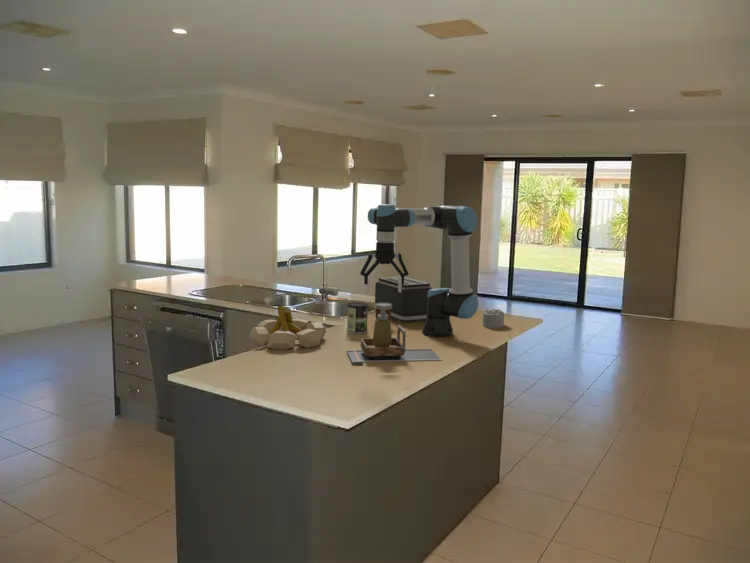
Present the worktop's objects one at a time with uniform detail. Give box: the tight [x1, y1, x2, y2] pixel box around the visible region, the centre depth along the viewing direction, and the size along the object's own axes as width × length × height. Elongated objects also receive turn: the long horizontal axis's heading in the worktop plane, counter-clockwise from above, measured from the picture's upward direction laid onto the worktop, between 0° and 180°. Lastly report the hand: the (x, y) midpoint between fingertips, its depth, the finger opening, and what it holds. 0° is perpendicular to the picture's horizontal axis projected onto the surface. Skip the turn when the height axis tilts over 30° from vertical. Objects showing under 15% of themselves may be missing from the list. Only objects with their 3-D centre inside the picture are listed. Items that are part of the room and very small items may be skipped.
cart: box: [360, 324, 407, 360], centre depth 266 cm, size 17×16×12 cm
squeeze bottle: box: [372, 307, 393, 347], centre depth 265 cm, size 8×8×18 cm
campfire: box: [249, 305, 327, 350], centre depth 292 cm, size 35×34×17 cm
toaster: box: [374, 276, 433, 323], centre depth 355 cm, size 19×35×20 cm, turn 30°
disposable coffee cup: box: [374, 303, 392, 322], centre depth 326 cm, size 10×10×12 cm
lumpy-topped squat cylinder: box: [482, 308, 505, 329], centre depth 335 cm, size 10×13×9 cm
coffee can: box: [346, 301, 369, 335], centre depth 313 cm, size 10×10×14 cm
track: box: [346, 347, 443, 365], centre depth 268 cm, size 38×18×1 cm, turn 100°
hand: (383, 292), depth 263 cm, fingers open, 13 cm apart
